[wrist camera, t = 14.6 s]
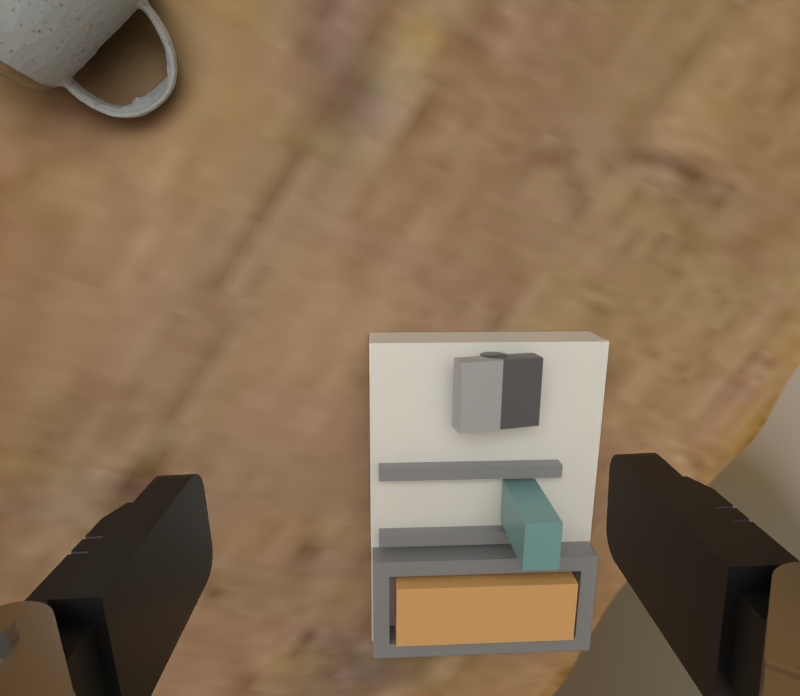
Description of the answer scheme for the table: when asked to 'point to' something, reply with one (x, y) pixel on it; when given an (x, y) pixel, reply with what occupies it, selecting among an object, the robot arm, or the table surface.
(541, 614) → the paddle button
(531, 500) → the slide switch
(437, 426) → the switch panel
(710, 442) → the table surface
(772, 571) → the robot arm
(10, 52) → the ceramic mug
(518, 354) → the rocker switch
